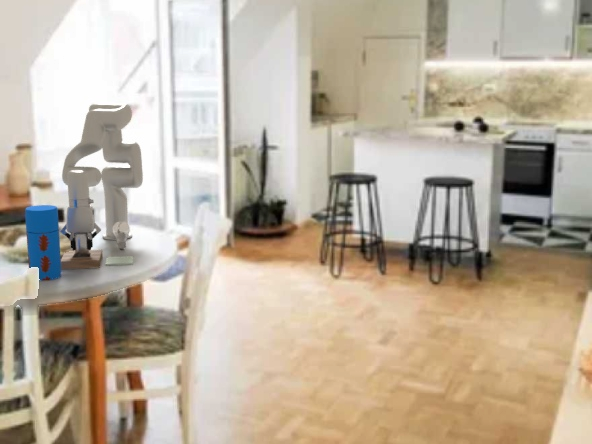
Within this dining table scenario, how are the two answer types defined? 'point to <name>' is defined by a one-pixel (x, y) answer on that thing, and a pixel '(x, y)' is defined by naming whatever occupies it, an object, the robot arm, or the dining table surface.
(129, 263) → the pad
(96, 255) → the block
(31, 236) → the thermos
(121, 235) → the light bulb
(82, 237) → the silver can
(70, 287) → the dining table surface
